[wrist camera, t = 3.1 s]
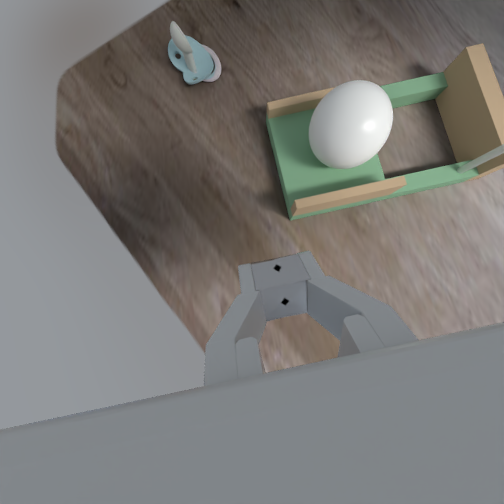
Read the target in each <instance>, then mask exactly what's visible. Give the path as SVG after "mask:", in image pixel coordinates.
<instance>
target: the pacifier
mask: <svg viewBox="0 0 504 504" xmlns="http://www.w3.org/2000/svg"><path fill="white" fill-rule="evenodd" d="M170 34H171V37H172V39H171V40H170V42H169V44H168V54H169V57H170V60H171V62H172V63H173V65H174V66H175V67H176V68H177V69H178V70H180V71H182V72H183V77H184V80H185V82H186V83H187V84H196V83H198V82H201V81H206V82H213V81H215V80H217V79H218V78H219V76H220V74H221V63H220V61H219V58H218V57H217V55H216V54H215V53H214V51H213V50H211V49H210V48H209V47H207V46H205V45H202V44H200V43H198V42H197V41H196V40H195V39H193V38H191V37H189V36H186V35H184V34H183V32H182V31H181V29H180V28H179V27H178V25H177V24H176V23H175V22H174V21H172V22H171V25H170ZM177 53H178V54H180V55H181V58H180V59H177V58H176V57H175V54H177ZM213 62H214V64H213ZM214 65H215V70H214V72H213V73H212V71H213V68H214ZM211 73H212V74H211Z"/></svg>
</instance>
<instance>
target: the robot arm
mask: <svg viewBox="0 0 504 504" xmlns="http://www.w3.org/2000/svg"><path fill="white" fill-rule="evenodd" d="M238 271H239V279H240V288H241V294H240V295H237V297H236V298H235V300H234V302H233V303H232V305H231V306H230V308H229V310H228V311H227V313H226V314H225V316H224V317H223V319H222V321H221V322H220V324H219V325H218V327H217V329H216V330H215V332H214V333H213V335H212V336H211V338H210V340H209V341H208V343H207V344H206V353H205V372H204V373H205V374H204V386H203V387H199V388H194V389H189V390H184V391H180V392H175V393H170V394H165V395H161V396H156V397H152V398H147V399H142V400H137V401H133V402H128V403H124V404H119V405H114V406H109V407H105V408H100V409H95V410H91V411H86V412H81V413H76V414H72V415H67V416H63V417H58V418H53V419H48V420H44V421H39V422H34V423H29V424H25V425H20V426H15V427H11V428H6V429H1V430H0V504H504V322H502V323H497V324H493V325H488V326H483V327H479V328H474V329H469V330H465V331H460V332H455V333H451V334H446V335H441V336H437V337H432V338H427V339H423V340H418V339H417V337H416V336H415V335H414V334H413V333H412V331H411V330H410V329H409V328H408V327H407V325H406V324H405V323H404V322H403V320H402V319H401V318H400V317H399V316H398V314H397V313H396V312H395V311H394V310H393V308H392V307H391V306H389V305H387V304H385V303H383V302H381V301H379V300H377V299H375V298H373V297H371V296H369V295H367V294H365V293H363V292H361V291H359V290H357V289H355V288H353V287H351V286H349V285H347V284H345V283H343V282H341V281H339V280H337V279H335V278H333V277H331V276H325V275H324V273H323V271H322V270H321V268H320V266H319V265H318V263H317V262H316V260H315V258H314V257H313V255H312V253H311V252H310V251H305V252H301V253H297V254H293V255H288V256H284V257H279V258H275V259H269V260H264V261H258V262H253V263H251V264H250V263H248V264H243V265H239V266H238ZM303 313H308V314H309V315H310V316H311V317H312V318H313V319H315V320H316V321H317V322H318V323H319V324H321V325H322V326H323V327H324V328H325V329H327V330H328V331H329V332H330V333H331V334H333V335H334V336H335V337H336V338H337V339H339V340H340V346H339V352H338V358H333V359H329V360H324V361H319V362H315V363H310V364H306V365H301V366H296V367H292V368H287V369H282V370H278V371H273V372H268V373H266V372H265V368H264V364H263V361H262V357H261V353H260V349H259V346H258V345H259V342H260V339H261V337H262V334H263V331H264V328H265V326H266V323H267V322H266V321H270V320H274V319H278V318H283V317H287V316H292V315H298V314H303Z"/></svg>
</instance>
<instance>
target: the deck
mask: <svg viewBox="0 0 504 504" xmlns="http://www.w3.org/2000/svg"><path fill="white" fill-rule="evenodd" d="M380 87H381V88H382V89H383V90H384V91H385V92H386V94H387V95H388V97H389V99H390V101H391V104H392V108H397V107H401V106H406V105H410V104H414V103H419V102H423V101H428V100H432V99H435V100H436V103H437V106H438V109H439V112H440V115H441V117H442V120H443V123H444V126H445V129H446V132H447V135H448V138H449V141H450V144H451V147H452V150H453V153H454V156H455V159H456V162H457V163H455V164H451V165H446V166H442V167H437V168H433V169H428V170H424V171H420V172H415V173H411V174H406V175H402V176H397V177H393V178H388V179H385V177H384V174H383V171H382V167H381V164H380V161H379V157H378V154H376V155H374V156H373V157H372V158H371V159H370V160H368V161H367V162H365V163H363V164H361V165H359V166H357V167H353V168H349V169H335V168H331V167H328V166H326V165H325V164H323V163H322V162H320V161H319V160H318V159H317V158H316V156H315V155H314V153H313V151H312V149H311V146H310V142H309V125H310V121H311V117H312V115H313V113H314V110H315V109H316V107H317V105H318V104H319V102H320V101H321V100H322V99H323V98H324V96H325V95H326V94H327V93H329V92H330V91H331V90H333V89H334V88H335V87H333V88H329V89H325V90H320V91H316V92H311V93H307V94H302V95H298V96H294V97H289V98H285V99H280V100H276V101H271V102H267V114H266V125H267V129H268V133H269V137H270V141H271V145H272V149H273V153H274V157H275V161H276V165H277V170H278V174H279V178H280V182H281V186H282V190H283V194H284V198H285V202H286V206H287V210H288V214H289V218H290V220H295V219H299V218H304V217H308V216H312V215H317V214H321V213H326V212H330V211H335V210H339V209H344V208H348V207H353V206H357V205H362V204H366V203H371V202H375V201H380V200H384V199H389V198H393V197H398V196H402V195H407V194H411V193H416V192H420V191H425V190H429V189H434V188H438V187H442V186H447V185H451V184H456V183H460V182H465V181H469V180H474V179H478V178H481V177H483V176H485V175H488V174H490V173H492V172H495V171H497V170H499V169H502V168H504V97H503V94H502V92H501V89H500V86H499V84H498V81H497V78H496V76H495V73H494V70H493V68H492V65H491V62H490V60H489V57H488V55H487V52H486V49H485V47H484V44H478V45H474V46H469V47H466V48H465V49H464V50H463V51H462V52H461V53H460V54H459V55H458V56H457V58H456V59H455V60H454V61H453V62H452V63H451V64H450V65H449V66H448V67H447V68H446V70H445V71H444V72H441V73H437V74H432V75H428V76H423V77H419V78H414V79H410V80H406V81H401V82H397V83H392V84H388V85H383V86H380Z"/></svg>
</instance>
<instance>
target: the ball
mask: <svg viewBox="0 0 504 504" xmlns="http://www.w3.org/2000/svg"><path fill="white" fill-rule="evenodd" d="M392 122H393V109H392V104H391V101H390V99H389V97H388V95H387V94H386V92H385V91H384V90H383V89H382V88H381V87H380V86H378V85H376V84H374V83H372V82H369V81H365V80H355V81H349V82H346V83H343V84H341V85H339V86H337V87H335V88H334V89H333V90H331V91H330V92H329V93H327V94H326V95H325V96H324V98H323V99H322V100H321V101H320V102H319V104H318V105H317V107H316V109H315V110H314V113H313V115H312V117H311V121H310V125H309V142H310V146H311V149H312V151H313V153H314V155H315V156H316V158H317V159H318V160H319V161H320V162H322V163H323V164H325V165H326V166H328V167H331V168H335V169H349V168H353V167H357V166H359V165H361V164H363V163H365V162H367V161H368V160H370V159H371V158H372V157H373V156H374V155H376V154H377V153H378V151H379V150H380V149H381V148H382V146H383V145H384V144H385V142H386V140H387V138H388V136H389V133H390V131H391V127H392Z"/></svg>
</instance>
